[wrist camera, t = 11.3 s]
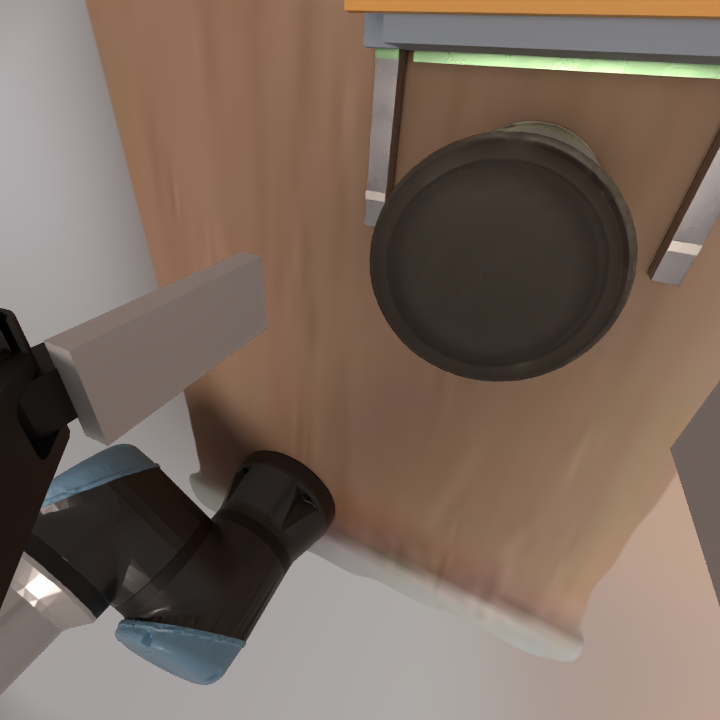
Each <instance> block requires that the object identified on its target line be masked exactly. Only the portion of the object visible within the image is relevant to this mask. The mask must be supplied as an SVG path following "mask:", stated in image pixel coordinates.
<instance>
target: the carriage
mask: <svg viewBox="0 0 720 720" xmlns="http://www.w3.org/2000/svg"><path fill="white" fill-rule="evenodd" d="M345 11H347V12H350V13H365V20H364V38H363V47H367V48H388V49H404V50H415V51H436V52H457V53H478V54H499V55H520V56H541V57H562V58H583V59H604V60H625V61H646V62H667V63H688V64H709V65H720V0H345Z"/></svg>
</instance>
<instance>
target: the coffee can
mask: <svg viewBox="0 0 720 720" xmlns="http://www.w3.org/2000/svg"><path fill="white" fill-rule="evenodd" d="M636 262H637V239H636V232H635V227H634V224H633V220H632V217H631V213H630V210H629V208H628V206H627V204H626V202H625V200H624V198H623V196H622V194H621V192H620V191H619V189H618V187H617V186H616V184H615V183H614V182H613V180H612V179H611V178H610V177H609V175H608V174H607V173H606V172H605V171H604V170H603V169H602V168H601V167H600V164H599V162H598V160H597V158H596V156H595V154H594V152H593V151H592V150H591V148H590V147H589V146H588V145H587V144H586V142H585V141H584V140H583V139H581V138H580V137H579V136H578V135H576V134H575V133H574V132H572V131H570V130H568V129H566V128H564V127H562V126H560V125H558V124H554V123H549V122H543V121H522V122H516V123H512V124H509V125H505V126H503V127H500V128H498V129H496V130H494V131H491V132H490V133H484V134H479V135H474V136H471V137H468V138H465V139H462V140H459V141H456V142H454V143H451V144H449V145H447V146H445V147H443V148H441V149H439V150H438V151H436V152H434V153H432V154H431V155H429V156H428V157H427V158H425V159H424V160H422V161H421V162H420V163H419V164H417V165H416V166H415V167H414V168H412V169H411V170H410V171H409V172H408V173H407V174H406V175H405V176H404V178H403V179H402V180H401V181H400V182H399V183H398V185H397V186H396V187H395V188H394V189H393V191H392V192H391V194H390V195H389V197H388V199H387V200H386V202H385V204H384V206H383V207H382V209H381V212H380V214H379V217H378V219H377V222H376V225H375V229H374V233H373V237H372V242H371V250H370V275H371V282H372V287H373V290H374V295H375V297H376V299H377V302H378V305H379V307H380V309H381V311H382V313H383V315H384V317H385V319H386V320H387V322H388V324H389V325H390V327H391V328H392V330H393V331H394V332H395V334H396V335H397V336H398V337H399V339H400V340H401V341H402V342H403V343H404V344H405V345H406V346H407V347H408V348H409V349H410V350H412V351H413V352H414V353H416V354H417V355H418V356H419V357H421V358H423V359H424V360H426V361H427V362H429V363H431V364H432V365H434V366H436V367H438V368H440V369H442V370H444V371H447V372H450V373H453V374H455V375H458V376H462V377H465V378H470V379H475V380H481V381H516V380H523V379H528V378H532V377H536V376H540V375H543V374H546V373H549V372H551V371H554V370H556V369H558V368H561V367H563V366H565V365H567V364H569V363H570V362H572V361H574V360H575V359H577V358H579V357H580V356H581V355H583V354H584V353H585V352H587V351H588V350H589V349H591V348H592V347H593V346H594V345H595V344H596V343H597V342H598V341H599V340H600V339H601V338H602V337H603V336H604V335H605V334H606V333H607V332H608V331H609V329H610V328H611V327H612V325H613V324H614V322H615V321H616V319H617V318H618V316H619V314H620V313H621V311H622V309H623V308H624V306H625V304H626V301H627V299H628V297H629V294H630V291H631V288H632V285H633V281H634V277H635V272H636Z"/></svg>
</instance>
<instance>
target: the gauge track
mask: <svg viewBox="0 0 720 720" xmlns="http://www.w3.org/2000/svg"><path fill="white" fill-rule="evenodd" d="M407 52H408V50H404V49H388V48H376V52H375V58H376V68H375V82H374V96H373V110H372V124H371V138H370V152H369V167H368V181H367V190H366V196H365V199H366V209H365V223H364V225H367V226H372V227H375V225H376V222H377V219H378V217H379V214H380V212H381V209H382V207H383V206H384V204H385V202H386V200H387V199H388V197H389V195H390V194H391V192H392V191H393V185H394V175H395V166H396V156H397V147H398V137H399V128H400V118H401V109H402V99H403V90H404V81H405V71H406V62H407ZM413 62H426V63H444V64H462V65H479V66H497V67H515V68H532V69H550V70H568V71H585V72H603V73H621V74H639V75H656V76H674V77H692V78H709V79H720V65H709V64H688V63H667V62H646V61H625V60H604V59H583V58H562V57H541V56H520V55H499V54H478V53H457V52H436V51H415V50H414V59H413ZM719 214H720V130H719V132H718V134H717V136H716V138H715V140H714V142H713V144H712V146H711V148H710V150H709V152H708V154H707V156H706V157H705V159H704V161H703V163H702V165H701V167H700V169H699V171H698V173H697V175H696V177H695V179H694V181H693V183H692V185H691V187H690V189H689V191H688V193H687V195H686V197H685V199H684V201H683V203H682V205H681V207H680V209H679V211H678V213H677V215H676V217H675V219H674V221H673V223H672V225H671V227H670V229H669V231H668V233H667V235H666V237H665V239H664V241H663V243H662V245H661V247H660V249H659V251H658V253H657V255H656V257H655V259H654V261H653V263H652V265H651V267H650V269H649V271H648V275H649V277H650V279H651V281H656V282H662V283H667V284H672V285H677V286H679V285H680V283H681V281H682V280H683V278H684V276H685V274H686V272H687V271H688V269H689V267H690V265H691V264H692V262H693V260H694V258H695V256H697V255H698V253H699V252H700V250H701V248H702V246H703V245H702V244H703V242H704V241H705V239H706V237H707V235H708V233H709V232H710V230H711V228H712V226H713V225H714V223H715V221H716V219H717V217H718V216H719Z"/></svg>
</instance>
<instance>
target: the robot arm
mask: <svg viewBox="0 0 720 720" xmlns="http://www.w3.org/2000/svg"><path fill="white" fill-rule="evenodd" d="M266 328H267V325H266V312H265V298H264V285H263V271H262V258H261V256H259V255H255V254H250V253H246V252H240V253H238V254H236V255H234V256H231V257H229V258H227V259H225V260H223V261H220V262H218V263H216V264H214V265H211V266H209V267H207V268H205V269H203V270H200V271H198V272H196V273H194V274H191V275H189V276H187V277H185V278H182V279H180V280H178V281H176V282H174V283H171V284H169V285H167V286H165V287H162V288H160V289H158V290H156V291H154V292H151V293H149V294H147V295H145V296H142V297H140V298H138V299H136V300H134V301H132V302H129V303H127V304H125V305H122V306H120V307H118V308H116V309H114V310H111V311H109V312H107V313H105V314H102V315H100V316H98V317H96V318H94V319H91V320H89V321H87V322H85V323H83V324H80V325H78V326H76V327H74V328H71V329H69V330H67V331H65V332H62V333H60V334H58V335H56V336H53V337H51V338H49V339H47V340H45V341H44V342H43V343H41V344H39V345H36V346H34V347H32V348H30V346H29V343H28V341H27V339H26V337H25V335H24V333H23V331H22V329H21V327H20V325H19V323H18V320H17V318H16V316H15V314H14V313H13V312H12V311H10V310H6V309H2V308H0V695H1V694H2V693H3V692H4V691H5V690H6V689H7V688H8V687H9V686H10V685H11V684H12V683H13V682H14V681H15V680H16V679H17V678H18V676H19V675H20V674H21V673H22V672H23V671H24V670H25V669H26V668H27V667H28V666H29V665H30V664H31V663H32V662H33V661H34V660H35V659H36V658H37V657H38V656H39V655H40V654H41V653H42V652H43V651H44V650H45V649H46V648H47V647H48V645H50V643H52V641H53V640H54V639H55V638H56V637H57V636H58V635H59V634H60V633H61V632H62V631H65V630H67V629H69V628H72V627H77V626H81V625H86V624H90V623H93V622H94V621H95V620H96V619H97V618H98V617H99V616H100V615H101V614H102V613H103V612H104V611H105V609H107V608H108V606H110V605H111V606H113V607H114V608H115V609H116V610H117V611H118V612H120V613H121V614H122V615H123V616H124V620H121V621H120V622H119V624H118V628H117V630H116V632H115V636H116V638H117V639H118V641H120V642H122V643H123V644H124V645H125V646H126V647H127V648H128V649H130V650H131V651H133V652H134V653H135V654H137V655H139V656H140V657H142V658H143V659H145V660H147V661H149V662H150V663H152V664H154V665H156V666H158V667H159V668H161V669H163V670H165V671H167V672H169V673H171V674H173V675H175V676H178V677H180V678H182V679H185V680H187V681H190V682H192V683H196V684H201V685H208V684H212V683H214V682H216V681H217V680H219V679H220V678H221V677H222V676H223V675H224V674H225V672H226V670H227V669H228V667H229V666H230V665H231V663H232V662H233V660H234V659H235V657H236V656H237V654H238V653H239V651H240V650H241V648H243V647H244V646H245V644H246V640H247V639H248V637H249V635H250V634H251V632H252V630H253V629H254V627H255V625H256V623H257V621H258V620H259V618H260V617H261V615H262V613H263V611H264V610H265V608H266V606H267V604H268V603H269V601H270V599H271V598H272V596H273V595H274V593H275V591H276V589H277V587H278V586H279V584H280V583H281V581H282V579H283V577H284V576H285V574H286V572H287V571H288V569H289V567H290V566H291V564H292V563H293V562H294V561H295V560H296V559H297V558H298V557H299V556H300V555H302V554H303V553H304V552H305V551H306V550H307V549H308V548H309V547H311V546H312V545H313V544H314V543H315V542H316V541H317V540H319V539H320V538H321V537H322V536H323V535H324V534H325V532H326V531H327V529H328V527H329V525H330V524H331V522H332V520H333V518H334V513H335V511H334V504H333V501H332V498H331V496H330V494H329V492H328V491H327V489H326V488H325V486H324V485H323V484H322V483H321V481H320V480H319V479H318V478H317V477H316V476H315V475H314V474H313V473H312V472H310V471H309V470H308V469H307V468H305V467H304V466H303V465H301V464H300V463H298V462H296V461H295V460H293V459H291V458H289V457H287V456H284V455H282V454H278V453H275V452H269V451H260V452H256V453H253V454H251V455H250V456H249V457H248V458H247V459H246V460H245V461H244V462H243V463H242V464H241V466H240V467H239V468H238V470H237V471H236V473H235V476H234V478H233V480H232V483H231V485H230V487H229V490H228V492H227V494H226V497H225V499H224V501H223V503H222V506H221V508H220V509H219V510H218V512H217V513H216V514H215V515H214V516H213V518H212V519H210V518H209V517H208V516H207V515H206V514H205V513H204V512H203V511H202V510H201V509H200V508H199V507H198V506H197V505H196V504H195V503H194V502H193V501H192V500H191V499H190V498H189V497H188V496H187V495H186V494H185V493H184V492H183V491H182V490H181V489H180V488H179V487H178V486H177V485H176V484H175V483H174V482H173V481H172V480H171V479H170V478H169V477H168V476H167V475H166V474H165V473H164V472H163V471H162V470H161V469H160V466H159V464H157V463H154V462H153V461H151V460H150V459H149V458H148V457H147V456H146V455H145V454H144V453H142V452H141V451H140V450H139V449H138V448H137V447H135V446H133V445H130V444H120V445H115V446H112V447H110V448H107V449H105V450H103V451H101V452H99V453H97V454H95V455H93V456H92V457H90V458H88V459H86V460H84V461H82V462H80V463H79V464H77V465H75V466H74V467H72V468H70V469H68V470H67V471H65V472H63V473H62V474H60V475H59V476H57V477H55V478H54V479H53V477H54V475H55V472H56V470H57V467H58V464H59V462H60V460H61V457H62V455H63V452H64V450H65V447H66V445H67V442H68V440H69V437H70V436H69V435H70V430H69V428H68V426H67V424H68V423H69V422H71V421H73V420H74V419H76V418H77V417H78V419H79V421H80V424H81V426H82V428H83V430H84V433H85V435H86V436H88V437H90V438H92V439H94V440H97V441H99V442H101V443H103V444H106V445H107V446H109V445H110V444H111V443H113V442H114V441H115V440H117V439H118V438H119V437H121V436H122V435H124V434H125V433H126V432H128V431H129V430H130V429H132V428H133V427H134V426H136V425H137V424H138V423H140V422H141V421H142V420H143V419H145V418H146V417H148V416H149V415H150V414H152V413H153V412H154V411H156V410H157V409H158V408H160V407H161V406H163V405H164V404H165V403H167V402H168V401H169V400H171V399H172V398H173V397H175V396H176V395H177V394H179V393H180V392H181V391H183V390H184V389H185V388H187V387H188V386H189V385H191V384H192V383H193V382H195V381H196V380H197V379H199V378H200V377H201V376H203V375H204V374H206V373H207V372H208V371H210V370H211V369H212V368H214V367H215V366H216V365H218V364H219V363H220V362H222V361H223V360H224V359H226V358H227V357H228V356H230V355H231V354H232V353H234V352H235V351H236V350H238V349H239V348H240V347H242V346H243V345H245V344H246V343H247V342H249V341H250V340H251V339H253V338H254V337H255V336H257V335H258V334H259V333H261V332H262V331H263V330H265V329H266ZM670 449H671V452H672V455H673V458H674V462H675V465H676V468H677V471H678V474H679V477H680V481H681V484H682V487H683V490H684V493H685V497H686V500H687V503H688V506H689V510H690V513H691V516H692V519H693V522H694V525H695V529H696V532H697V535H698V538H699V541H700V545H701V548H702V551H703V554H704V557H705V561H706V564H707V567H708V570H709V573H710V576H711V580H712V583H713V586H714V589H715V592H716V596H717V599H718V602H719V605H720V381H719V382H718V384H717V385H716V386H715V388H714V389H713V391H712V392H711V393H710V395H709V396H708V397H707V399H706V400H705V402H704V403H703V404H702V406H701V407H700V408H699V410H698V411H697V413H696V414H695V415H694V417H693V418H692V419H691V421H690V422H689V424H688V425H687V426H686V428H685V429H684V430H683V432H682V433H681V435H680V436H679V437H678V439H677V440H676V441H675V443H674V444H673V446H672V447H671V448H670Z"/></svg>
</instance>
